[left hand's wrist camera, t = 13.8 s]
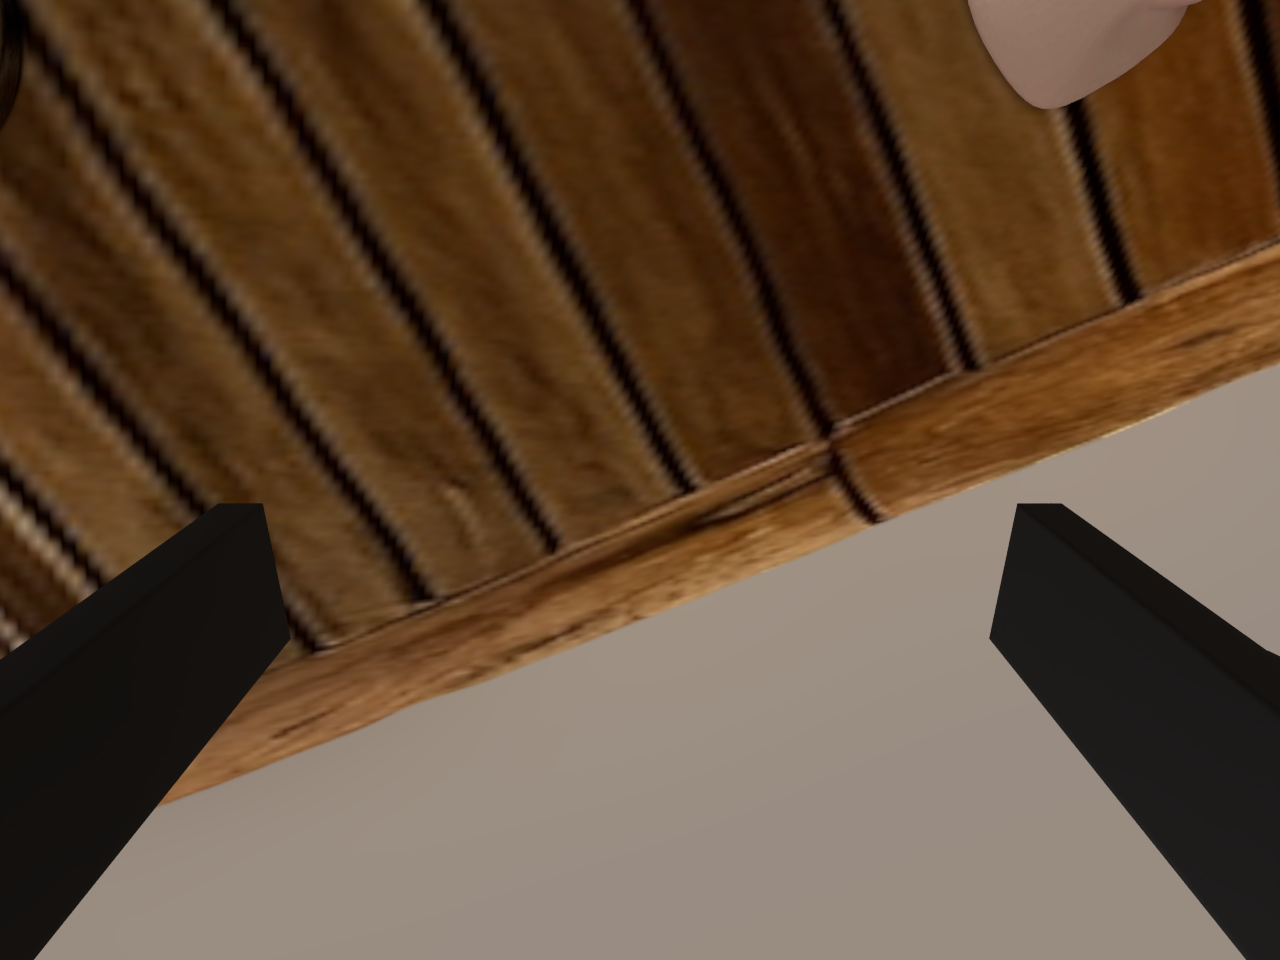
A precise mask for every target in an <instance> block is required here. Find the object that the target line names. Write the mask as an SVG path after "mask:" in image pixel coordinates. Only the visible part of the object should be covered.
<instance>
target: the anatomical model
mask: <svg viewBox="0 0 1280 960" xmlns="http://www.w3.org/2000/svg"><path fill="white" fill-rule="evenodd" d="M1200 1H1202V0H968V4H969V7H970V10H971V13H972V16H973V20H974V23H975V25H976V27H977V30H978V32H979V34H980V36H981V39H982V41H983V43H984V45H985V46H986V48H987V50H988V52H989V53H990V55H991V57H992V59H993V60H994V62H995V64H996V65H997V66H998V68H999V69H1000V71H1001V72H1002V74H1003V75H1004V77H1005V78H1006V80H1007V81H1008V82H1009V83H1010V85H1011V86H1012V87H1013V88H1014V89H1015V91H1016V92H1017V93H1018V94H1019V95H1020V96H1021V97H1022V98H1023V99H1024V100H1025V101H1027V102H1029V103H1030V104H1032V105H1033V106H1036V107H1038V108H1042V109H1054V108H1059V107H1062V106H1065V105H1068V104H1070V103H1072V102H1074V101H1076V100H1079V99H1081V98H1083V97H1085V96H1087V95H1088V94H1090V93H1092V92H1093V91H1095V90H1097V89H1099V88H1100V87H1102V86H1104V85H1106V84H1107V83H1109V82H1111V81H1112V80H1114V79H1116V78H1117V77H1119V76H1121V75H1122V74H1124V73H1125V72H1127V71H1128V70H1129V69H1131V68H1132V67H1134V66H1135V65H1136V64H1137V63H1139V62H1140V61H1141V60H1143V59H1144V58H1145V57H1146V56H1148V55H1149V54H1150V53H1151V52H1153V51H1154V50H1155V49H1156V48H1157V47H1159V46H1160V45H1161V44H1162V43H1163V42H1164V41H1165V40H1166V39H1167V38H1168V37H1169V36H1170V35H1171V34H1172V33H1173V31H1174V30H1175V29H1176V27H1177V26H1178V25H1179V23H1180V21H1181V19H1182V17H1183V16H1184V14H1185V11H1186V9H1187V7H1188V5H1190V4H1194V3H1197V2H1200Z"/></svg>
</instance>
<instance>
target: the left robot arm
mask: <svg viewBox="0 0 1280 960" xmlns="http://www.w3.org/2000/svg"><path fill="white" fill-rule="evenodd" d="M18 72H19V36H18V26H17V21H16V15H15V9H14V5H13V1H12V0H0V129H1V127H2V125H3V124H4V122H5V119H6V117H7V115H8V113H9V111H10V108H11V105H12V102H13V99H14V95H15V91H16V86H17V81H18ZM290 639H291V638H290V633H289V628H288V623H287V618H286V614H285V609H284V604H283V599H282V594H281V590H280V585H279V580H278V575H277V570H276V566H275V561H274V556H273V551H272V546H271V542H270V537H269V532H268V527H267V522H266V518H265V513H264V508H263V504H217V505H216V506H214V507H213V508H212V509H210V510H209V511H207V512H206V513H205V514H203V515H202V516H200V517H199V518H198V519H196V520H195V521H193V522H192V523H191V524H189V525H188V526H186V527H185V528H184V529H182V530H181V531H179V532H178V533H177V534H175V535H174V536H172V537H171V538H170V539H168V540H167V541H166V542H164V543H163V544H161V545H160V546H159V547H157V548H156V549H154V550H153V551H152V552H150V553H149V554H147V555H146V556H145V557H143V558H142V559H140V560H139V561H138V562H136V563H135V564H133V565H132V566H131V567H129V568H128V569H126V570H125V571H124V572H122V573H121V574H119V575H118V576H117V577H115V578H114V579H112V580H111V581H110V582H108V583H107V584H105V585H104V586H103V587H101V588H100V589H98V590H97V591H96V592H94V593H93V594H92V595H90V596H89V597H87V598H86V599H85V600H83V601H82V602H80V603H79V604H78V605H76V606H75V607H73V608H72V609H71V610H69V611H68V612H66V613H65V614H64V615H62V616H61V617H59V618H58V619H57V620H55V621H54V622H52V623H51V624H50V625H48V626H47V627H45V628H44V629H43V630H41V631H40V632H38V633H37V634H36V635H34V636H33V637H31V638H30V639H29V640H27V641H26V642H24V643H23V644H22V645H20V646H19V647H17V648H16V649H15V650H13V651H12V652H11V653H9V654H8V655H6V656H5V657H4V658H2V659H0V960H34V959H35V958H36V956H37V955H38V954H39V953H40V951H41V950H42V949H43V948H44V946H45V945H46V944H47V943H48V941H49V940H50V939H51V938H52V936H53V935H54V934H55V933H56V931H57V930H58V929H59V928H60V926H61V925H62V924H63V923H64V921H65V920H66V919H67V918H68V916H69V915H70V914H71V913H72V911H73V910H74V909H75V908H76V906H77V905H78V904H79V903H80V901H81V900H82V899H83V898H84V896H85V895H86V894H87V893H88V891H89V890H90V889H91V888H92V886H93V885H94V884H95V883H96V881H97V880H98V879H99V878H100V876H101V875H102V874H103V873H104V871H105V870H106V869H107V868H108V866H109V865H110V864H111V863H112V861H113V860H114V859H115V858H116V856H117V855H118V854H119V853H120V851H121V850H122V849H123V848H124V846H125V845H126V844H127V843H128V841H129V840H130V839H131V838H132V836H133V835H134V834H135V833H136V831H137V830H138V829H139V828H140V826H141V825H142V824H143V823H144V821H145V820H146V819H147V818H148V816H149V815H150V814H151V813H152V811H153V810H154V809H155V808H156V806H157V805H158V804H159V803H160V801H161V800H162V799H163V798H164V796H165V795H166V794H167V793H168V791H169V790H170V789H171V788H172V786H173V785H174V784H175V783H176V781H177V780H178V779H179V778H180V776H181V775H182V774H183V773H184V771H185V770H186V769H187V768H188V766H189V765H190V764H191V763H192V761H193V760H194V759H195V758H196V756H197V755H198V754H199V753H200V751H201V750H202V749H203V748H204V746H205V745H206V744H207V743H208V741H209V740H210V739H211V738H212V736H213V735H214V734H215V733H216V731H217V730H218V729H219V728H220V726H221V725H222V724H223V723H224V721H225V720H226V719H227V718H228V716H229V715H230V714H231V713H232V711H233V710H234V709H235V708H236V706H237V705H238V704H239V703H240V701H241V700H242V699H243V698H244V696H245V695H246V694H247V693H248V691H249V690H250V689H251V688H252V686H253V685H254V684H255V683H256V681H257V680H258V679H259V678H260V676H261V675H262V674H263V673H264V671H265V670H266V669H267V668H268V666H269V665H270V664H271V663H272V661H273V660H274V659H275V658H276V656H277V655H278V654H279V653H280V651H281V650H282V649H283V648H284V646H285V645H286V644H287V642H288V641H289V640H290ZM989 639H990V640H991V641H992V643H993V644H994V645H995V646H996V648H997V649H998V650H999V651H1000V652H1001V654H1002V655H1003V656H1004V658H1005V659H1006V660H1007V661H1008V662H1009V664H1010V665H1011V666H1012V668H1013V669H1014V670H1015V671H1016V672H1017V674H1018V675H1019V676H1020V678H1021V679H1022V680H1023V681H1024V683H1025V684H1026V685H1027V686H1028V687H1029V689H1030V690H1031V691H1032V693H1033V694H1034V695H1035V696H1036V697H1037V699H1038V700H1039V701H1040V702H1041V704H1042V705H1043V706H1044V708H1045V709H1046V710H1047V711H1048V713H1049V714H1050V715H1051V716H1052V717H1053V719H1054V720H1055V721H1056V723H1057V724H1058V725H1059V726H1060V728H1061V729H1062V730H1063V731H1064V733H1065V734H1066V735H1067V736H1068V738H1069V739H1070V740H1071V741H1072V743H1073V744H1074V745H1075V746H1076V748H1077V749H1078V750H1079V751H1080V753H1081V754H1082V755H1083V756H1084V758H1085V759H1086V760H1087V761H1088V763H1089V764H1090V765H1091V766H1092V767H1093V769H1094V770H1095V771H1096V773H1097V774H1098V775H1099V776H1100V778H1101V779H1102V780H1103V781H1104V783H1105V784H1106V785H1107V786H1108V788H1109V789H1110V790H1111V791H1112V793H1113V794H1114V795H1115V796H1116V797H1117V799H1118V800H1119V801H1120V803H1121V804H1122V805H1123V806H1124V808H1125V809H1126V810H1127V811H1128V813H1129V814H1130V815H1131V816H1132V818H1133V819H1134V820H1135V821H1136V823H1137V824H1138V825H1139V826H1140V828H1141V829H1142V830H1143V831H1144V832H1145V834H1146V835H1147V836H1148V838H1149V839H1150V840H1151V841H1152V843H1153V844H1154V845H1155V846H1156V848H1157V849H1158V850H1159V851H1160V853H1161V854H1162V855H1163V856H1164V858H1165V859H1166V860H1167V861H1168V863H1169V864H1170V865H1171V866H1172V868H1173V869H1174V870H1175V871H1176V873H1177V874H1178V875H1179V876H1180V878H1181V879H1182V880H1183V881H1184V883H1185V884H1186V885H1187V886H1188V888H1189V889H1190V890H1191V891H1192V893H1193V894H1194V895H1195V896H1196V898H1197V899H1198V900H1199V901H1200V903H1201V904H1202V905H1203V906H1204V908H1205V909H1206V910H1207V911H1208V913H1209V914H1210V915H1211V916H1212V918H1213V919H1214V920H1215V921H1216V923H1217V924H1218V925H1219V926H1220V928H1221V929H1222V930H1223V931H1224V933H1225V934H1226V935H1227V936H1228V938H1229V939H1230V940H1231V941H1232V943H1233V944H1234V945H1235V946H1236V948H1237V949H1238V950H1239V951H1240V953H1241V954H1242V955H1243V956H1244V958H1245V959H1246V960H1280V656H1278V655H1276V654H1274V653H1272V652H1270V651H1267V650H1265V649H1264V648H1263V647H1261V646H1260V645H1258V644H1257V643H1256V642H1254V641H1253V640H1251V639H1250V638H1249V637H1247V636H1246V635H1244V634H1243V633H1242V632H1240V631H1239V630H1237V629H1236V628H1235V627H1233V626H1232V625H1230V624H1229V623H1227V622H1226V621H1225V620H1223V619H1222V618H1221V617H1219V616H1218V615H1216V614H1215V613H1214V612H1212V611H1211V610H1209V609H1208V608H1207V607H1205V606H1204V605H1202V604H1201V603H1200V602H1198V601H1197V600H1195V599H1194V598H1193V597H1191V596H1190V595H1188V594H1187V593H1186V592H1184V591H1183V590H1181V589H1180V588H1179V587H1177V586H1176V585H1174V584H1173V583H1172V582H1170V581H1169V580H1168V579H1166V578H1165V577H1163V576H1162V575H1160V574H1159V573H1158V572H1156V571H1155V570H1154V569H1152V568H1151V567H1149V566H1148V565H1147V564H1145V563H1144V562H1142V561H1141V560H1140V559H1138V558H1137V557H1135V556H1134V555H1133V554H1131V553H1130V552H1128V551H1127V550H1126V549H1124V548H1123V547H1121V546H1120V545H1119V544H1117V543H1116V542H1114V541H1113V540H1112V539H1110V538H1109V537H1108V536H1106V535H1105V534H1103V533H1102V532H1101V531H1099V530H1098V529H1096V528H1095V527H1093V526H1092V525H1091V524H1089V523H1088V522H1086V521H1085V520H1084V519H1082V518H1081V517H1080V516H1078V515H1077V514H1075V513H1074V512H1073V511H1071V510H1070V509H1068V508H1067V507H1065V506H1064V505H1063V504H1017V508H1016V513H1015V517H1014V522H1013V527H1012V532H1011V537H1010V542H1009V547H1008V551H1007V556H1006V561H1005V566H1004V570H1003V575H1002V580H1001V585H1000V590H999V595H998V599H997V604H996V609H995V614H994V618H993V623H992V628H991V633H990V638H989Z"/></svg>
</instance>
